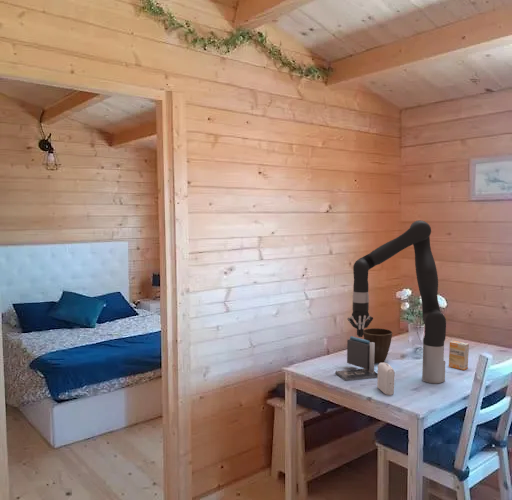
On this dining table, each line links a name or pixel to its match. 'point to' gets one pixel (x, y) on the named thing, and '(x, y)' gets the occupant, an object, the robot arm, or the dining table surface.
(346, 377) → the panel
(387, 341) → the plant pot
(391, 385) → the photo printer
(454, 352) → the supplement box
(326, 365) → the dining table surface
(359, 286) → the robot arm
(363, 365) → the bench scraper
